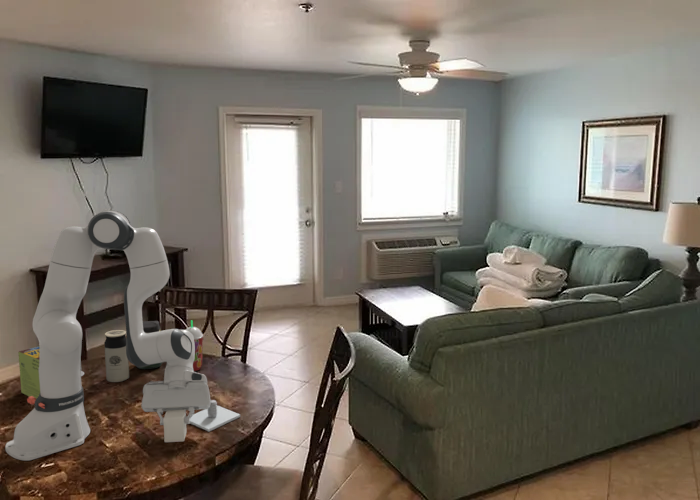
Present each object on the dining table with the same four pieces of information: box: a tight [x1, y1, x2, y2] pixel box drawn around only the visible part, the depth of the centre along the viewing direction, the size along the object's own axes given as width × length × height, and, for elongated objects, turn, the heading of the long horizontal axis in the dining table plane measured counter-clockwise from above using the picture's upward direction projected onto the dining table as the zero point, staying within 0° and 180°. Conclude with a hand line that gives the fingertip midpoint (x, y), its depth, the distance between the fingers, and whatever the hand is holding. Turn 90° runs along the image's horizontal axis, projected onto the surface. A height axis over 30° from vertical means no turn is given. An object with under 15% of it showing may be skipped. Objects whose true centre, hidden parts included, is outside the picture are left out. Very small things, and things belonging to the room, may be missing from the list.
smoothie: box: [185, 319, 204, 372], centre depth 228 cm, size 8×8×20 cm
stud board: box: [190, 399, 241, 432], centre depth 187 cm, size 13×12×6 cm
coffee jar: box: [136, 320, 163, 370], centre depth 231 cm, size 10×8×19 cm
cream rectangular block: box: [163, 409, 187, 443], centre depth 174 cm, size 6×6×8 cm
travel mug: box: [104, 329, 130, 383], centre depth 218 cm, size 8×8×18 cm
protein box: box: [18, 346, 40, 399], centre depth 204 cm, size 10×15×16 cm
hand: (174, 424), depth 174 cm, fingers closed on cream rectangular block, 6 cm apart
